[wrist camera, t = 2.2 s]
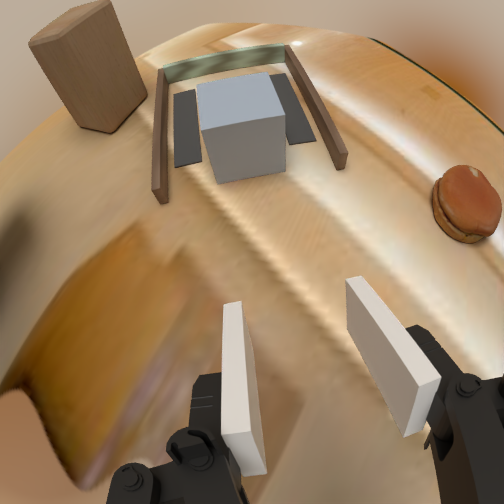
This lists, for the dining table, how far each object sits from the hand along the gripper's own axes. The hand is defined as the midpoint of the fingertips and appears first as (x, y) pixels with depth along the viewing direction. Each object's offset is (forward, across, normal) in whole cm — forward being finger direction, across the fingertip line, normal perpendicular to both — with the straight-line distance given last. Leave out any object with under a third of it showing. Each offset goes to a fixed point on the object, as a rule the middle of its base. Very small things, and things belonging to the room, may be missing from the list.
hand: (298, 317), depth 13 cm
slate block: (+27, 0, +6) cm, 28 cm away
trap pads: (+33, 0, +11) cm, 35 cm away
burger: (+18, +25, -4) cm, 31 cm away
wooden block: (+39, -20, +18) cm, 48 cm away
